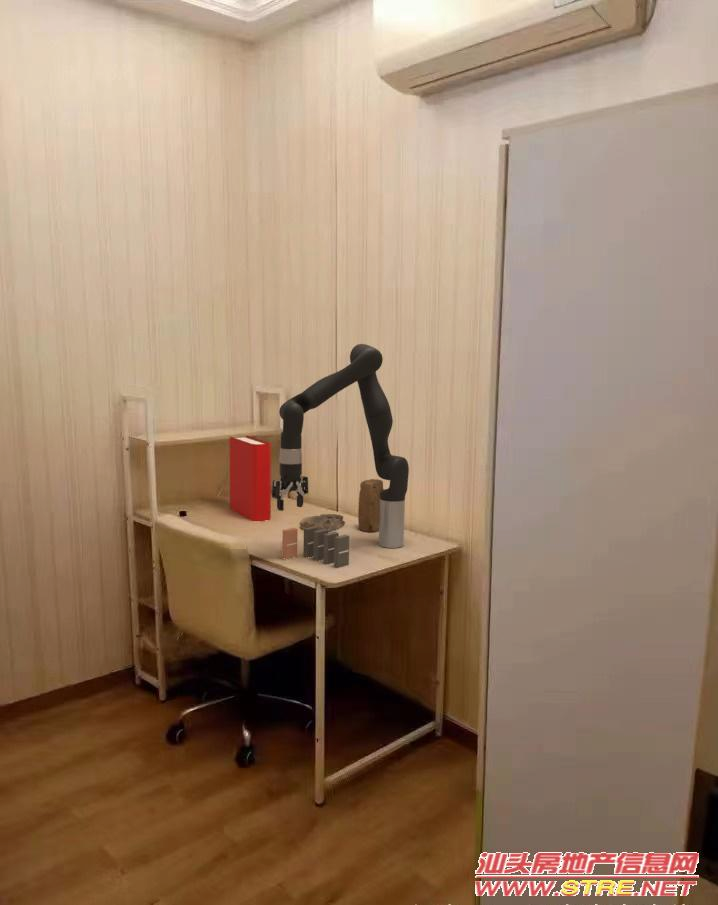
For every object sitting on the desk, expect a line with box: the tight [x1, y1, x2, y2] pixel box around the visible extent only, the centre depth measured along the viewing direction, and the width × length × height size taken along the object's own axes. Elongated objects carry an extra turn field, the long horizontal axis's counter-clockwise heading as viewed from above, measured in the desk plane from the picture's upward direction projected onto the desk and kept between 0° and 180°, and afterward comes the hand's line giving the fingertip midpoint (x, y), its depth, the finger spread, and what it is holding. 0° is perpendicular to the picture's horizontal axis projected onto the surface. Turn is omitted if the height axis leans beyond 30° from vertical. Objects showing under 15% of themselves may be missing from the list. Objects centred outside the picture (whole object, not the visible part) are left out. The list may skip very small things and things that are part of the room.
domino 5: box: [333, 534, 350, 569], centre depth 243 cm, size 2×5×10 cm, turn 137°
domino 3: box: [312, 529, 329, 562], centre depth 250 cm, size 2×5×10 cm, turn 137°
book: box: [229, 435, 272, 522], centre depth 310 cm, size 27×8×32 cm, turn 31°
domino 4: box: [322, 531, 340, 565], centre depth 246 cm, size 2×5×10 cm, turn 136°
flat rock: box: [299, 513, 346, 533], centre depth 293 cm, size 14×5×20 cm
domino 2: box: [302, 526, 318, 559], centre depth 253 cm, size 2×5×10 cm, turn 136°
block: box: [357, 478, 384, 533], centre depth 290 cm, size 11×8×20 cm
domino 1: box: [281, 527, 299, 560], centre depth 251 cm, size 2×5×10 cm, turn 136°
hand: (290, 508), depth 249 cm, fingers open, 8 cm apart
